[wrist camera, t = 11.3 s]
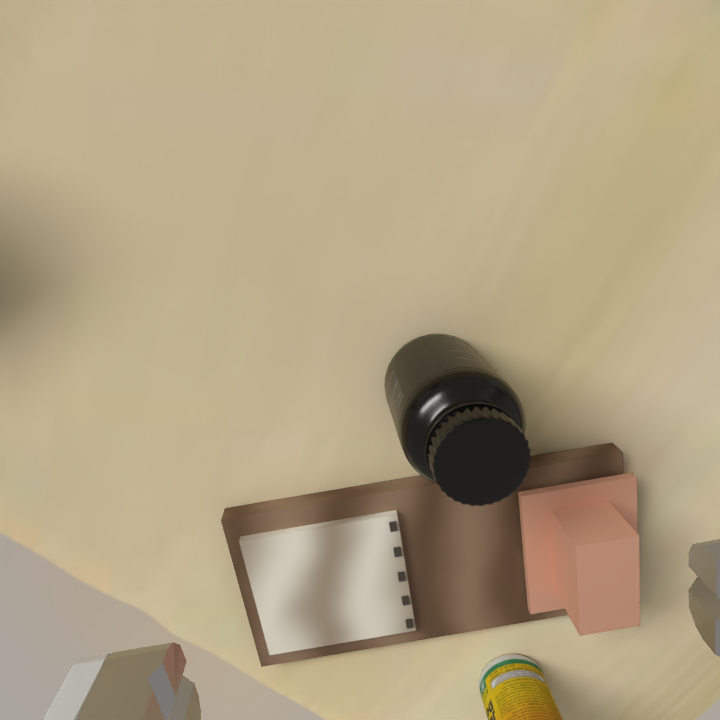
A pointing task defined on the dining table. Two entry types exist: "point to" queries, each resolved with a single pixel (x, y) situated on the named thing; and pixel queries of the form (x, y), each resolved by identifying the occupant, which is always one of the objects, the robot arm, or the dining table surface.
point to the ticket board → (388, 561)
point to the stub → (583, 552)
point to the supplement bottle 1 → (457, 420)
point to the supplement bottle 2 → (516, 690)
